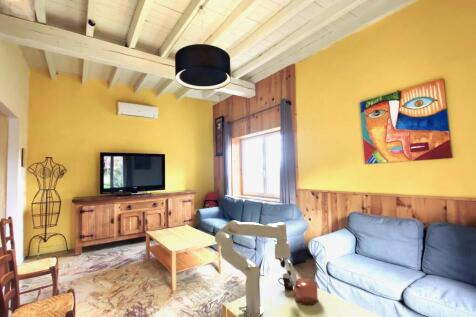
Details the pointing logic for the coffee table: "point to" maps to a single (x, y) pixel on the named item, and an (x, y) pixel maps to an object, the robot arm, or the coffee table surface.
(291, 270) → the cooker lid
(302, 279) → the red-brown rounded block
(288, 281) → the coffee mug
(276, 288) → the coffee table surface
